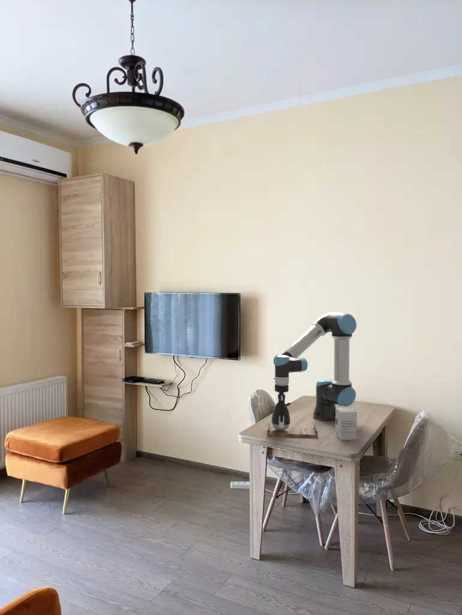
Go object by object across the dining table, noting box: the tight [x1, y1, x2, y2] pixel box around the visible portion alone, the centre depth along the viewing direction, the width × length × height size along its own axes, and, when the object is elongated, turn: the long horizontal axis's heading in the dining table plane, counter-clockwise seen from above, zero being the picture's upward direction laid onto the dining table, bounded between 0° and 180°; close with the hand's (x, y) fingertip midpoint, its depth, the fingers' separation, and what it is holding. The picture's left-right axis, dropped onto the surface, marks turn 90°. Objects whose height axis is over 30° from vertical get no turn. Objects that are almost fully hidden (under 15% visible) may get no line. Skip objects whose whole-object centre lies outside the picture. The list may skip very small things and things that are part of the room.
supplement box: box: [335, 407, 358, 441], centre depth 254 cm, size 9×9×15 cm
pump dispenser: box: [271, 401, 291, 430], centre depth 261 cm, size 10×10×15 cm
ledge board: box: [267, 422, 319, 439], centre depth 260 cm, size 26×12×4 cm, turn 86°
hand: (281, 424), depth 261 cm, fingers closed on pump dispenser, 10 cm apart
